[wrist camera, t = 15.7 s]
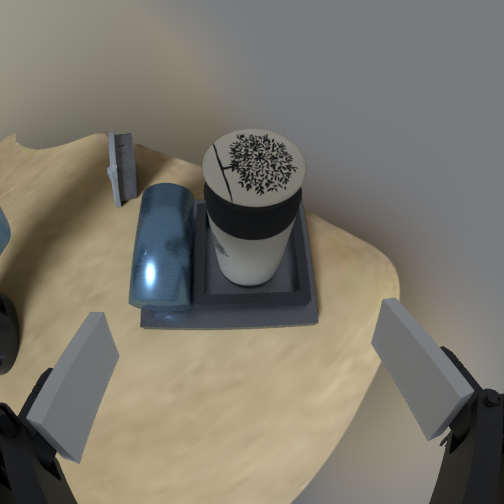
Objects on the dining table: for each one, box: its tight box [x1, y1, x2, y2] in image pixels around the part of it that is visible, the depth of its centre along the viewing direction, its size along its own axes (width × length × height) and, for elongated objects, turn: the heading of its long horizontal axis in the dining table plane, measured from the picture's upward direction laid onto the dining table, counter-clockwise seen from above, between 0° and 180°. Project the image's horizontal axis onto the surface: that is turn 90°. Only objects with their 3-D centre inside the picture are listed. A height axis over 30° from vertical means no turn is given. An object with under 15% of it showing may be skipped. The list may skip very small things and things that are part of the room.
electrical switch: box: [107, 131, 137, 207], centre depth 38 cm, size 9×5×9 cm, turn 22°
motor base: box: [129, 183, 318, 330], centre depth 33 cm, size 22×18×9 cm
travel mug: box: [202, 129, 306, 286], centre depth 27 cm, size 8×8×18 cm
